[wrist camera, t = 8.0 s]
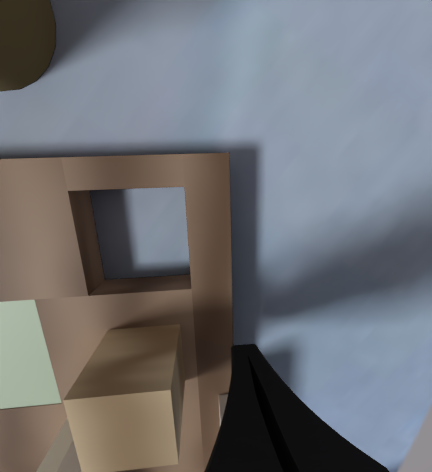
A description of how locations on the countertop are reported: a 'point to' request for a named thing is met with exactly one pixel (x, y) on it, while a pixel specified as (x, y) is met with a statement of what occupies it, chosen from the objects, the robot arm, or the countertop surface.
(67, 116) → the countertop surface
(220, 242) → the board
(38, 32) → the cork
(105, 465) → the block
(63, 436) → the cubby
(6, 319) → the pad
